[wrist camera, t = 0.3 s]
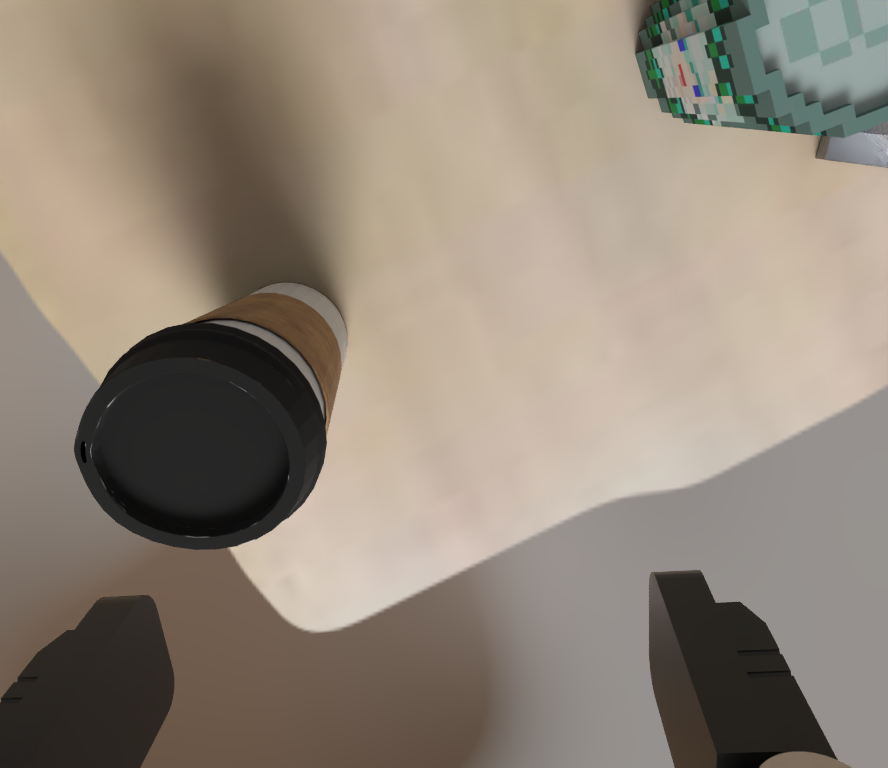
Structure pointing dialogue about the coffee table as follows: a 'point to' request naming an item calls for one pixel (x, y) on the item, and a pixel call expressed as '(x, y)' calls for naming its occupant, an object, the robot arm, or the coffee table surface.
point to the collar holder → (857, 147)
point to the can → (769, 63)
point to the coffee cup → (217, 420)
